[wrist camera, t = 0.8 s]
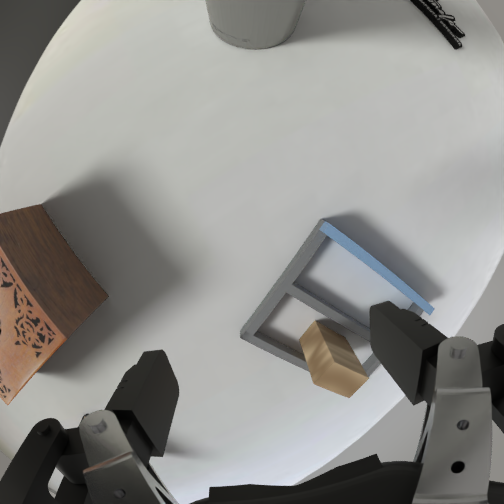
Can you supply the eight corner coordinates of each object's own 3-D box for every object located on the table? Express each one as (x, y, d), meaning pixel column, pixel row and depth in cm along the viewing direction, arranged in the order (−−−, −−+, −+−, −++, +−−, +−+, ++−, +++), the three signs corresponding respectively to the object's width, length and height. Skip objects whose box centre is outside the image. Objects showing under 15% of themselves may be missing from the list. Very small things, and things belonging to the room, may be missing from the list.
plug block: (314, 320, 30) (334, 362, 23) (345, 337, 31) (369, 378, 24) (299, 339, 31) (313, 383, 23) (329, 355, 32) (349, 397, 24)
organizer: (320, 218, 27) (329, 223, 24) (422, 299, 30) (434, 308, 28) (240, 330, 30) (240, 345, 27) (351, 383, 33) (357, 397, 31)
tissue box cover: (42, 203, 26) (-15, 217, 16) (109, 295, 29) (67, 339, 20) (-14, 307, 29) (-48, 331, 20) (35, 371, 33) (7, 405, 23)
